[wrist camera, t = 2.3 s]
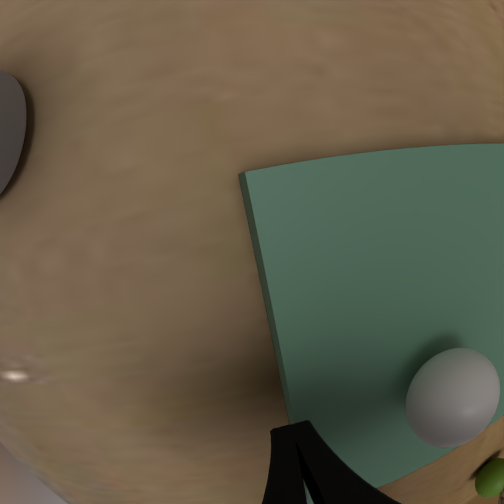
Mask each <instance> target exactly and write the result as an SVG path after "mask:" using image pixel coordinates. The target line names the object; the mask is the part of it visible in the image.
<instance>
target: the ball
mask: <svg viewBox="0 0 504 504" xmlns="http://www.w3.org/2000/svg"><path fill="white" fill-rule="evenodd" d="M499 397H500V382H499V377H498V374H497V371H496V369H495V367H494V366H493V364H492V363H491V362H490V360H489V359H488V358H487V357H485V356H484V355H483V354H481V353H479V352H477V351H475V350H472V349H467V348H454V349H449V350H446V351H443V352H441V353H439V354H437V355H435V356H434V357H432V358H431V359H429V360H428V361H427V362H426V363H425V364H424V365H423V366H422V367H421V368H420V369H419V370H418V372H417V373H416V375H415V376H414V378H413V380H412V382H411V384H410V386H409V389H408V392H407V397H406V416H407V420H408V423H409V425H410V427H411V429H412V431H413V432H414V434H415V435H416V436H417V437H418V438H419V439H421V440H422V441H423V442H425V443H427V444H429V445H432V446H435V447H440V448H450V447H456V446H459V445H462V444H465V443H467V442H469V441H470V440H472V439H474V438H475V437H476V436H478V435H479V434H480V433H481V432H482V431H483V430H484V429H485V428H486V427H487V425H488V424H489V423H490V421H491V419H492V418H493V416H494V414H495V412H496V409H497V406H498V403H499Z"/></svg>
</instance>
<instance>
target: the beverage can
mask: <svg viewBox="0 0 504 504" xmlns="http://www.w3.org/2000/svg"><path fill="white" fill-rule="evenodd" d="M26 117H27V116H26V102H25V97H24V93H23V91H22V88H21V86H20V84H19V83H18V81H17V80H16V79H15V78H14V77H13V76H11V75H10V74H8V73H6V72H4V71H2V70H0V194H1V192H2V191H3V190H4V188H5V187H6V186H7V184H8V182H9V181H10V179H11V177H12V175H13V173H14V170H15V168H16V166H17V163H18V160H19V157H20V154H21V151H22V147H23V142H24V137H25V131H26Z"/></svg>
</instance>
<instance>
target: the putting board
mask: <svg viewBox="0 0 504 504" xmlns="http://www.w3.org/2000/svg"><path fill="white" fill-rule="evenodd" d="M238 176H239V181H240V186H241V191H242V195H243V200H244V205H245V210H246V215H247V220H248V224H249V229H250V234H251V239H252V244H253V248H254V253H255V258H256V263H257V268H258V273H259V277H260V282H261V287H262V292H263V297H264V302H265V307H266V311H267V316H268V321H269V326H270V331H271V336H272V341H273V345H274V350H275V355H276V360H277V365H278V370H279V375H280V380H281V384H282V389H283V394H284V399H285V404H286V409H287V414H288V419H289V424H294V423H298V422H302V421H305V420H309V421H311V423H312V425H313V426H314V428H315V429H316V431H317V432H318V434H319V435H320V436H321V438H322V439H323V440H324V441H325V442H326V444H327V445H328V446H329V447H330V448H331V449H332V451H333V452H334V453H335V454H336V455H337V456H338V457H339V458H340V459H341V460H342V461H343V462H344V463H345V464H346V465H347V466H348V467H350V468H351V469H352V470H353V471H354V472H355V473H356V474H358V475H359V476H360V477H361V478H362V479H364V480H365V481H366V482H368V483H369V484H370V485H372V486H373V487H375V488H379V487H381V486H383V485H386V484H388V483H390V482H393V481H395V480H397V479H399V478H401V477H404V476H406V475H408V474H410V473H412V472H414V471H416V470H418V469H420V468H422V467H424V466H426V465H427V464H429V463H431V462H433V461H435V460H437V459H438V458H440V457H442V456H444V455H445V454H447V453H449V452H450V451H452V450H454V449H455V448H457V447H459V446H460V445H459V446H456V447H450V448H440V447H435V446H432V445H429V444H427V443H425V442H423V441H422V440H421V439H419V438H418V437H417V436H416V435H415V434H414V432H413V431H412V429H411V427H410V425H409V423H408V420H407V416H406V397H407V392H408V389H409V386H410V384H411V382H412V380H413V378H414V376H415V375H416V373H417V372H418V370H419V369H420V368H421V367H422V366H423V365H424V364H425V363H426V362H427V361H428V360H429V359H431V358H432V357H434V356H435V355H437V354H439V353H441V352H443V351H446V350H449V349H454V348H467V349H472V350H475V351H477V352H479V353H481V354H483V355H484V356H485V357H487V358H488V359H489V360H490V362H491V363H492V364H493V366H494V367H495V369H496V371H497V374H498V377H499V382H500V397H499V403H498V406H497V409H496V412H495V414H494V416H493V418H492V419H491V421H490V423H489V424H488V425H487V427H488V426H490V425H491V424H492V423H494V422H495V421H496V420H498V419H499V418H500V417H501V416H503V415H504V143H499V144H462V145H443V146H428V147H415V148H404V149H393V150H383V151H374V152H366V153H358V154H350V155H342V156H335V157H328V158H321V159H315V160H309V161H302V162H296V163H290V164H285V165H279V166H273V167H268V168H263V169H258V170H252V171H247V172H244V173H241V174H238ZM487 427H486V428H487ZM303 482H304V480H303ZM304 487H305V493H306V497H307V501H308V504H313V501H312V499H311V497H310V494H309V492H308V489H307V487H306V485H305V482H304Z"/></svg>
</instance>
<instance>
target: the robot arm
mask: <svg viewBox="0 0 504 504" xmlns="http://www.w3.org/2000/svg"><path fill="white" fill-rule="evenodd" d="M270 434H271V459H270V467H269V474H268V480H267V485H266V490H265V494H264V498H263V502H262V504H308V501H307V497H306V493H305V487H304V482H305V485H306V487H307V489H308V492H309V494H310V497H311V499H312V501H313V504H401V503H399V502H397V501H395V500H393V499H392V498H390V497H388V496H387V495H385V494H384V493H382V492H380V491H379V490H377V489H376V488H375V487H373V486H372V485H370V484H369V483H368V482H366V481H365V480H364V479H362V478H361V477H360V476H359V475H358V474H356V473H355V472H354V471H353V470H352V469H351V468H350V467H348V466H347V465H346V464H345V463H344V462H343V461H342V460H341V459H340V458H339V457H338V456H337V455H336V454H335V453H334V452H333V451H332V449H331V448H330V447H329V446H328V445H327V444H326V442H325V441H324V440H323V439H322V438H321V436H320V435H319V434H318V432H317V431H316V429H315V428H314V426H313V425H312V423H311V421H309V420H305V421H302V422H298V423H294V424H290V425H286V426H282V427H278V428H274V429H272V430H271V431H270ZM303 480H304V482H303Z"/></svg>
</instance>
